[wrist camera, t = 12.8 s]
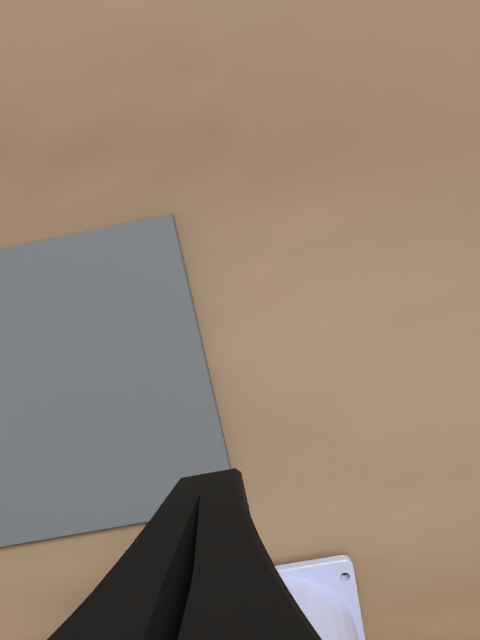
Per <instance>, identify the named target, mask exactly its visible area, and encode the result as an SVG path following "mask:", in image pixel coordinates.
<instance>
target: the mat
mask: <svg viewBox="0 0 480 640" xmlns="http://www.w3.org/2000/svg"><path fill="white" fill-rule="evenodd" d="M228 469H231V465H230V461H229V456H228V452H227V448H226V443H225V439H224V435H223V430H222V426H221V421H220V417H219V413H218V408H217V404H216V399H215V395H214V391H213V386H212V382H211V377H210V373H209V369H208V364H207V360H206V355H205V351H204V347H203V342H202V338H201V334H200V329H199V325H198V320H197V316H196V312H195V307H194V303H193V298H192V294H191V290H190V285H189V281H188V276H187V272H186V268H185V263H184V259H183V255H182V250H181V246H180V241H179V237H178V233H177V228H176V224H175V219H174V215H173V214H168V215H163V216H158V217H154V218H149V219H144V220H139V221H134V222H129V223H125V224H120V225H115V226H110V227H105V228H100V229H96V230H91V231H86V232H81V233H76V234H71V235H67V236H62V237H57V238H52V239H47V240H42V241H38V242H33V243H28V244H23V245H18V246H13V247H9V248H4V249H0V547H3V546H9V545H15V544H21V543H26V542H32V541H38V540H44V539H50V538H55V537H61V536H67V535H73V534H79V533H84V532H90V531H96V530H102V529H108V528H113V527H119V526H125V525H131V524H137V523H142V522H148V521H150V519H151V518H152V517H153V515H154V514H155V513H156V511H157V510H158V508H159V507H160V506H161V504H162V503H163V502H164V500H165V499H166V497H167V496H168V495H169V493H170V492H171V491H172V489H173V488H174V486H175V485H176V484H177V482H178V481H179V480H180V479H181V478H183V477H188V476H194V475H200V474H205V473H211V472H217V471H222V470H228Z"/></svg>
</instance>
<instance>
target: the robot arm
mask: <svg viewBox="0 0 480 640" xmlns="http://www.w3.org/2000/svg"><path fill="white" fill-rule="evenodd" d="M342 573H346V574H345V575H341V574H342ZM47 640H365V636H364V630H363V624H362V618H361V611H360V605H359V599H358V593H357V587H356V581H355V575H354V568H353V564H352V561H351V559H350V558H349V557H348V556H345V555H338V556H332V557H326V558H320V559H314V560H308V561H302V562H296V563H290V564H284V565H278V566H274V564H273V562H272V560H271V558H270V557H269V555H268V553H267V551H266V549H265V547H264V545H263V543H262V541H261V539H260V537H259V535H258V532H257V530H256V528H255V526H254V523H253V521H252V519H251V515H250V511H249V506H248V502H247V497H246V493H245V488H244V484H243V479H242V475H241V472H240V471H238V470H237V469H235V468H234V469H228V470H222V471H217V472H211V473H205V474H200V475H194V476H188V477H183V478H181V479H180V480H179V481H178V482H177V484H176V485H175V486H174V488H173V489H172V491H171V492H170V493H169V495H168V496H167V497H166V499H165V500H164V502H163V503H162V504H161V506H160V507H159V508H158V510H157V511H156V513H155V514H154V515H153V517H152V518H151V519H150V521H149V522H148V523H147V525H146V526H145V527H144V529H143V530H142V531H141V533H140V534H139V535H138V537H137V538H136V539H135V541H134V542H133V543H132V545H131V546H130V547H129V548H128V550H127V551H126V552H125V553H124V554H123V556H122V557H121V558H120V559H119V560H118V562H117V563H116V564H115V565H114V567H113V568H112V569H111V570H110V571H109V573H108V574H107V575H106V576H105V577H104V579H103V580H102V581H101V582H100V583H99V585H98V586H97V587H96V588H95V589H94V590H93V592H92V593H91V594H90V595H89V596H88V597H87V598H86V599H85V601H84V602H83V603H82V604H81V605H80V606H79V607H78V608H77V609H76V610H75V611H74V612H73V614H72V615H71V616H70V617H69V618H68V619H67V620H66V621H65V622H64V623H63V624H62V625H61V626H60V627H59V628H58V629H57V630H56V631H55V632H54V633H53V634H52V635H51V636H50V637H49V638H48V639H47Z"/></svg>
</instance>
